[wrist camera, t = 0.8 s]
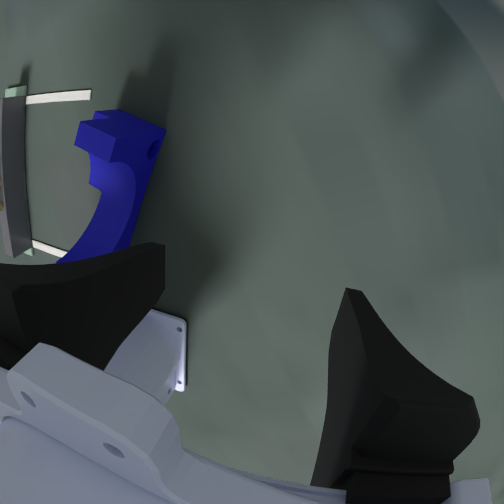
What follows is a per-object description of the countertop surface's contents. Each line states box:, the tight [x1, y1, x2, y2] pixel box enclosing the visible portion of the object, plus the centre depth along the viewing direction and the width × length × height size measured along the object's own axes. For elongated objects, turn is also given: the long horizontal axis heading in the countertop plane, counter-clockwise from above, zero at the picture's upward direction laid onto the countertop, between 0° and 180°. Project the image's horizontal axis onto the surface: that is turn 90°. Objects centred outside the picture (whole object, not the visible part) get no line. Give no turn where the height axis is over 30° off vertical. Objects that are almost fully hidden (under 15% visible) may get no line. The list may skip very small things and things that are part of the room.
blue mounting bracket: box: [56, 110, 166, 263], centre depth 21 cm, size 12×4×6 cm, turn 155°
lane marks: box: [26, 90, 91, 257], centre depth 25 cm, size 16×9×1 cm, turn 172°
